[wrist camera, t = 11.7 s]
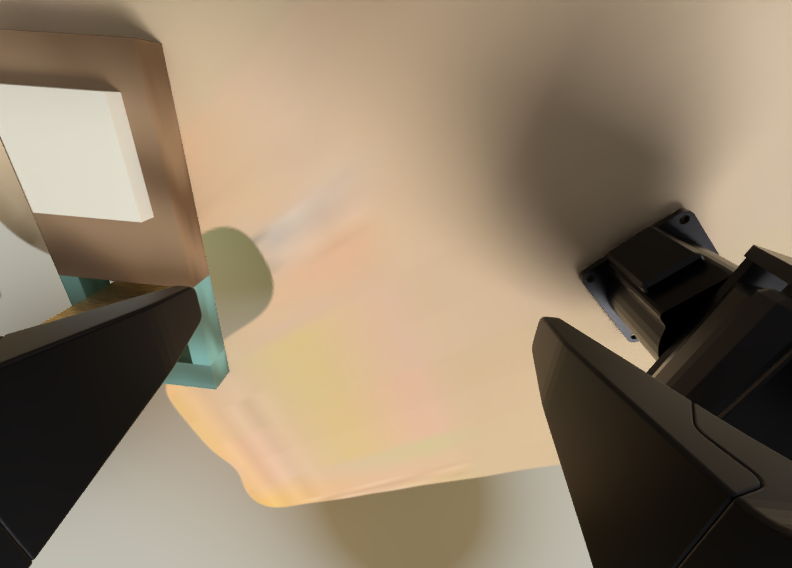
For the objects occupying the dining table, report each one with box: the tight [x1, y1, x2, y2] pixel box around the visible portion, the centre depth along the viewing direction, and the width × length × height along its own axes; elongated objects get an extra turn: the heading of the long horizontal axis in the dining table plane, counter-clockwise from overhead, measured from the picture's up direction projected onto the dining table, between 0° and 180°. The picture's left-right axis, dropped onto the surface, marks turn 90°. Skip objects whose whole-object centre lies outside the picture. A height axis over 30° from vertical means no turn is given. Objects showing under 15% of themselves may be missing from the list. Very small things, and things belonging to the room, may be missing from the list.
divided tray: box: [0, 29, 229, 389], centre depth 22 cm, size 22×9×3 cm, turn 176°
